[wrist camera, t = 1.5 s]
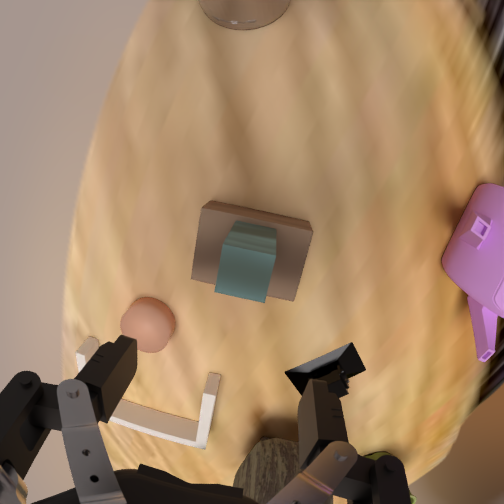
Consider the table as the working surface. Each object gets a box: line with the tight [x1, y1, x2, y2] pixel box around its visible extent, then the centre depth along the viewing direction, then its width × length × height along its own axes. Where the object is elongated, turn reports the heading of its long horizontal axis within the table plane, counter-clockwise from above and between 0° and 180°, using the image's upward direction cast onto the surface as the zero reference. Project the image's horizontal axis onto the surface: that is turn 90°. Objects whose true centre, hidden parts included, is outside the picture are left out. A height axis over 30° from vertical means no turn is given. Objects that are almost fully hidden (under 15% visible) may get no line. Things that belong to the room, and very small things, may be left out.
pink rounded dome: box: [120, 297, 175, 353], centre depth 35 cm, size 6×6×3 cm
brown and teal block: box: [191, 200, 313, 303], centre depth 27 cm, size 7×10×11 cm
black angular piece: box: [285, 342, 366, 398], centre depth 35 cm, size 12×7×5 cm, turn 121°
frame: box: [76, 336, 221, 449], centre depth 38 cm, size 12×19×4 cm, turn 79°
